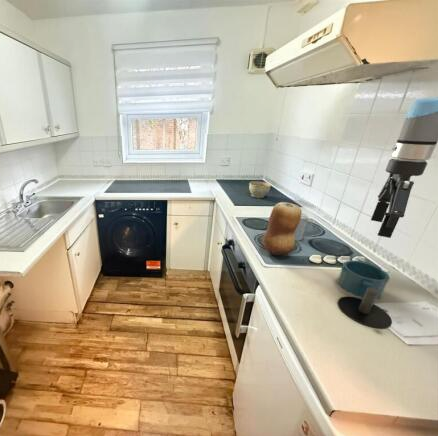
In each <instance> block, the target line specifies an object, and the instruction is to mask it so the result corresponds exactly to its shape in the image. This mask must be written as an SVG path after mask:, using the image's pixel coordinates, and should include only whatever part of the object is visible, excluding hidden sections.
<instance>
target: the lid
mask: <svg viewBox="0 0 438 436" xmlns="http://www.w3.org/2000/svg"><path fill="white" fill-rule="evenodd" d="M378 294H379V291H378V290H377V289H375V288H371V287H368V288H367V290H366V292H365V295H364V297H363V298H361V297H357V296H342V297H340V298H339V299H338V300H337V306H338V309H339V310H340V311H341V313H343V314H344V315H345V316H347V317H348V318H349V319H351V320H352V321H354V322H356V323H358V324H360V325H362V326H366V327H368V328H373V329H378V330H379V329H380V330H384V329H388V328H390V327H391V326H392V324H393V320H392V318H391V316H390V315H389V313H388V312H387V311H385V310H384V309H382V308H381V307H380V306H379V305H376V304H375V302H376V301H377V299H376V298H377V296H378Z"/></svg>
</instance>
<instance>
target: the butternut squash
mask: <svg viewBox="0 0 438 436" xmlns="http://www.w3.org/2000/svg"><path fill="white" fill-rule="evenodd" d="M301 213H302V214H303V211H302V208H301V207H300V206H299V205H298V204H294V203H291V202H286V201H285V202H284V201H281V202H277V204H275V205H273V208H272V209H271V213H270V215H269V217H268V218H269V219H268V226H267V228H266V231H265V232H264V234H263V236H262V243H263V246H264V248H265V250H267V252H268V253H269V254H270V255H272V256H277V257H278V256H285V255H288V254H290V253H291V252H292V251H294V249H295V246H296V240H295V236H294V232H295V230H296V228H297V226H298V224H299V222H300V219H301Z"/></svg>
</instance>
